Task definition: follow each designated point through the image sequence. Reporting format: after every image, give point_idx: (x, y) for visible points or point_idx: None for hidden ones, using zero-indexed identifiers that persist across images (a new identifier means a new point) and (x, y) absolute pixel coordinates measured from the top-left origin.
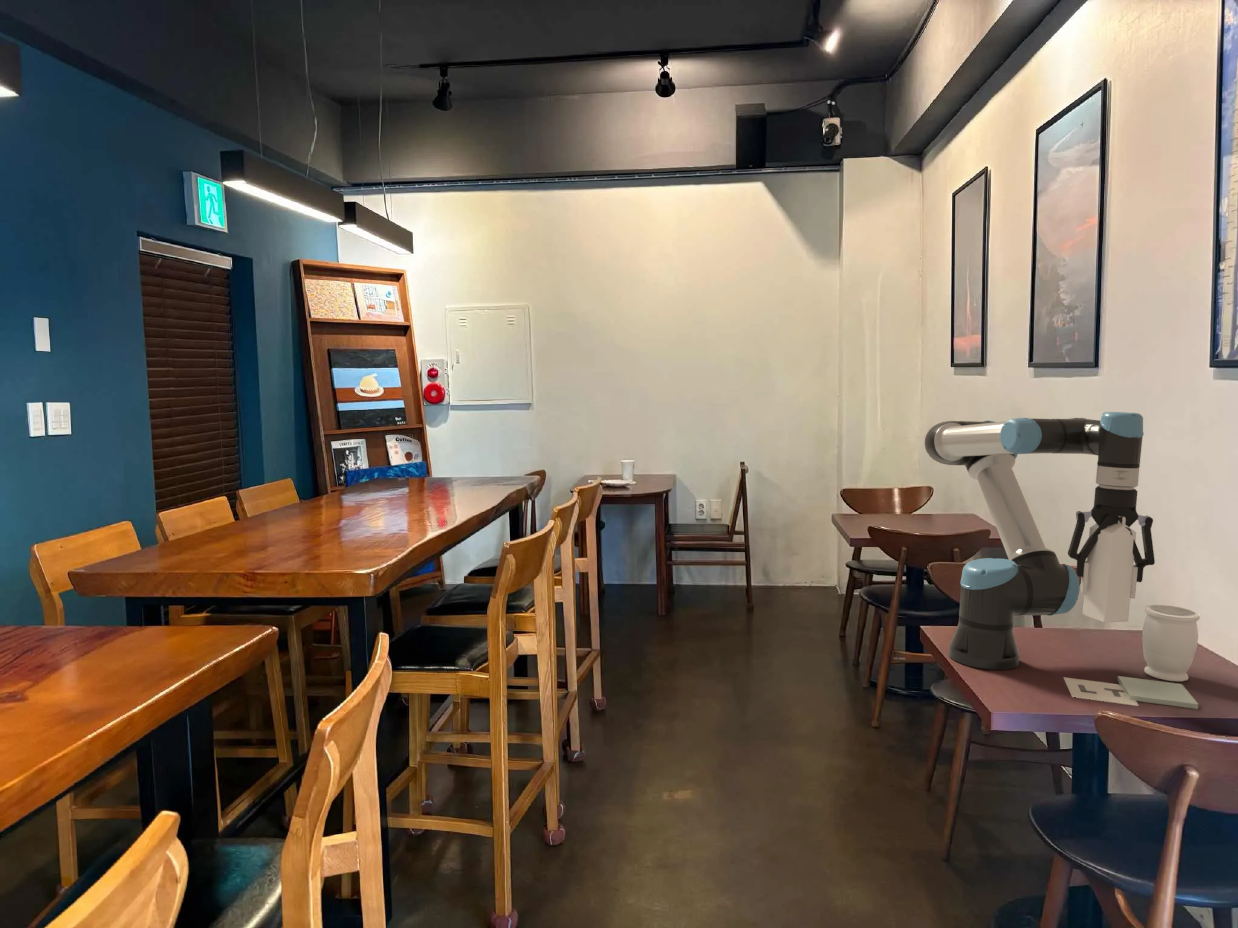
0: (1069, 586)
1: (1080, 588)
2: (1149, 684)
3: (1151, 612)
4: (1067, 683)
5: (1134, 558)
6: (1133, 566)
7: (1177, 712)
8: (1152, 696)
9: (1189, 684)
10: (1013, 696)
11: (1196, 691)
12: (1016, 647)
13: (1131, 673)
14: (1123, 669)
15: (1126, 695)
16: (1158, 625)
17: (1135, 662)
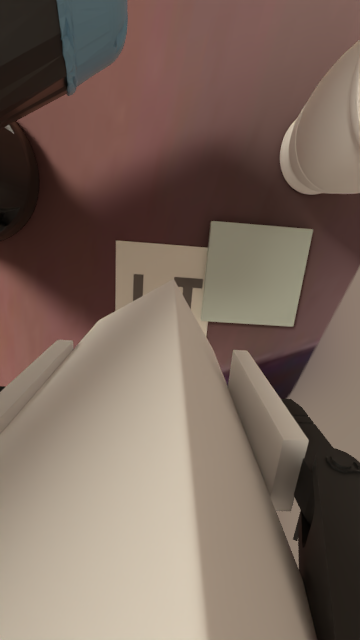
0: (65, 25)
1: (54, 345)
2: (253, 253)
3: (358, 122)
4: (117, 273)
5: (303, 554)
6: (276, 489)
7: (253, 347)
8: (235, 314)
9: (335, 198)
10: (28, 361)
11: (328, 237)
12: (11, 186)
13: (251, 164)
14: (244, 139)
15: (201, 301)
16: (347, 157)
17: (288, 69)
